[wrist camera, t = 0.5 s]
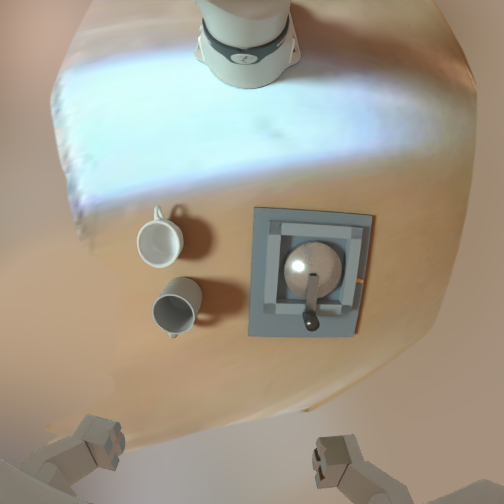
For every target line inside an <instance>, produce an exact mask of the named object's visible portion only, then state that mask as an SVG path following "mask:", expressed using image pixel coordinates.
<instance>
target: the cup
mask: <svg viewBox="0 0 504 504" xmlns="http://www.w3.org/2000/svg"><path fill="white" fill-rule="evenodd" d="M202 298H203V295H202V290H201V288H200V287H199V285H198V284H197V283H196V282H195V281H193V280H192V279H189V278H185V277H179V278H176V279H173V280H172V281H171V282H170V283H169V284H168V285H167V286H166V287H165V289H164V290H163V291H162V293H161V294H160V295H159V297H158V298H157V299H156V301H155V302H154V304H153V307H152V316H153V319H154V321H155V323H156V324H157V325H158V327H159V328H160V329H162V330H163V331H165V332H167V333H168V335H169V337H170V338H176V337H177V335H178V334H182V333H185V332H187V331H188V330H190V328H191V327H192V326H193V324H194V321H195V319H196V316H197V313H198V311H199V308H200V306H201V303H202Z"/></svg>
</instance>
